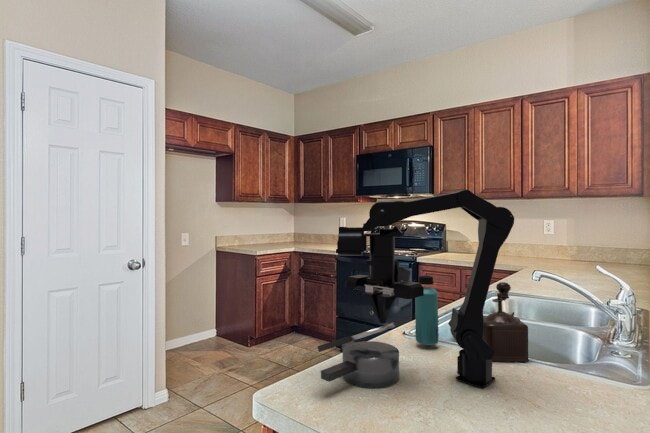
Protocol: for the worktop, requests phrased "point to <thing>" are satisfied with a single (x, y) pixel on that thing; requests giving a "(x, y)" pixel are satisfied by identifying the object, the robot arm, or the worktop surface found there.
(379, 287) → the robot arm
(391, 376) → the pot
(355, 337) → the lid
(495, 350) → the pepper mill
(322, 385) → the worktop surface
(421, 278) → the beverage bottle
